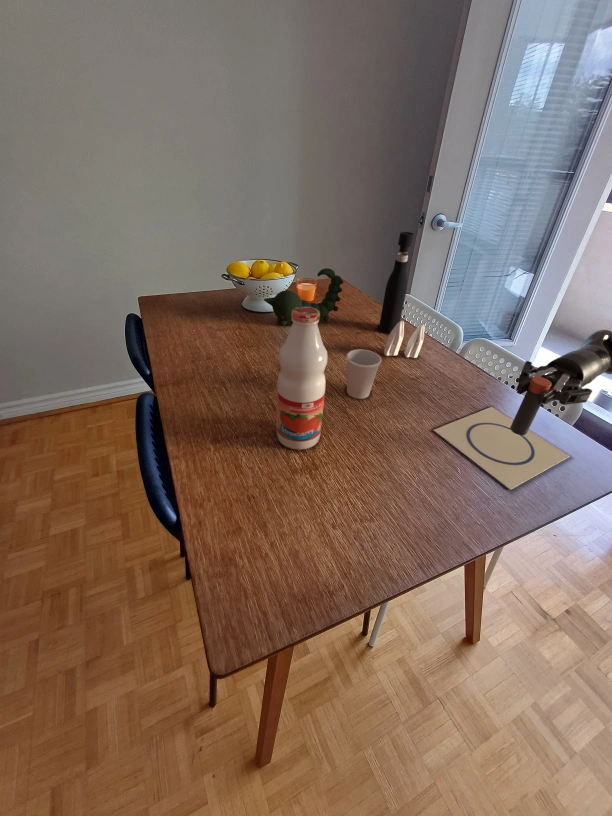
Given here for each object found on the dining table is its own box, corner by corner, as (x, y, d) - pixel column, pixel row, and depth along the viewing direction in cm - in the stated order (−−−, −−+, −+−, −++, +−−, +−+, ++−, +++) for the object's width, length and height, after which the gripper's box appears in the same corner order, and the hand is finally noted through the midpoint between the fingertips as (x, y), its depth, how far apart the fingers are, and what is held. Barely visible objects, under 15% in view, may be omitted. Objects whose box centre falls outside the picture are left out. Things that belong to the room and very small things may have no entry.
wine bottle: (399, 334, 129) (420, 236, 112) (380, 333, 129) (397, 235, 111) (396, 326, 134) (415, 231, 117) (377, 325, 134) (394, 230, 117)
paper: (569, 456, 84) (570, 455, 84) (510, 490, 75) (510, 489, 75) (491, 407, 98) (491, 406, 98) (433, 430, 89) (433, 429, 89)
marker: (530, 432, 81) (555, 383, 74) (520, 437, 80) (544, 387, 73) (516, 423, 84) (539, 374, 77) (506, 428, 82) (528, 378, 75)
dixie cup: (373, 404, 96) (380, 368, 90) (339, 398, 97) (344, 362, 91) (375, 386, 103) (382, 351, 97) (343, 381, 104) (348, 346, 98)
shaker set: (383, 361, 114) (390, 325, 107) (378, 354, 117) (385, 318, 111) (422, 358, 116) (431, 323, 110) (415, 351, 120) (424, 317, 113)
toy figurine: (328, 319, 140) (258, 318, 131) (338, 265, 129) (263, 259, 121) (338, 331, 132) (264, 330, 124) (349, 274, 122) (270, 269, 114)
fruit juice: (315, 421, 89) (326, 300, 73) (324, 449, 82) (339, 321, 65) (273, 424, 87) (275, 301, 71) (279, 452, 80) (282, 323, 64)
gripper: (547, 340, 85) (502, 360, 77) (619, 370, 76) (577, 396, 68) (534, 371, 90) (490, 393, 81) (600, 401, 81) (558, 430, 72)
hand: (529, 394), depth 75 cm, fingers closed on marker, 3 cm apart
